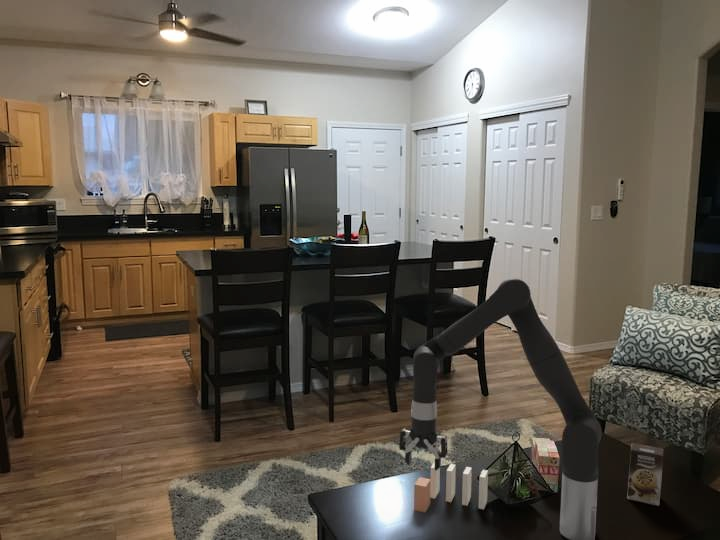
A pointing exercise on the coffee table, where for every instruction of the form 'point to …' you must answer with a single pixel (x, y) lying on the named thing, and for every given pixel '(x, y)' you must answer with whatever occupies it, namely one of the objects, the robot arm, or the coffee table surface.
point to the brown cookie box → (645, 474)
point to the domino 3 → (450, 482)
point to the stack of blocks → (546, 460)
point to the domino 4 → (466, 486)
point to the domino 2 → (434, 481)
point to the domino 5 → (483, 488)
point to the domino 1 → (422, 494)
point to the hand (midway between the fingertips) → (422, 466)
